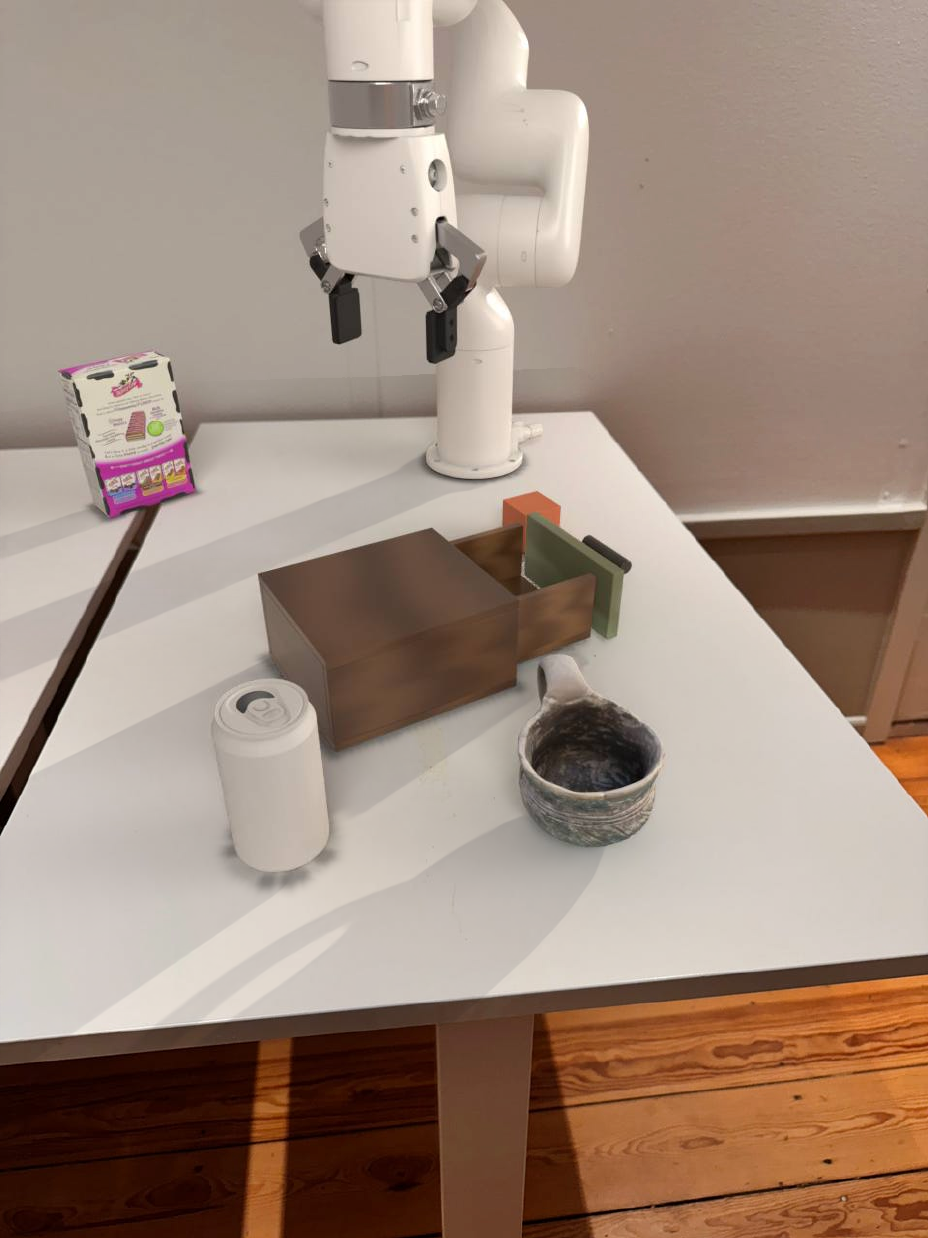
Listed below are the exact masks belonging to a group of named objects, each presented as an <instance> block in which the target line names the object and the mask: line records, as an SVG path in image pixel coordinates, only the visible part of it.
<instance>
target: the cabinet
mask: <svg viewBox="0 0 928 1238" xmlns="http://www.w3.org/2000/svg"><path fill="white" fill-rule="evenodd" d="M449 541H450V540H447V539H446V538H445V537H444V536H443V535H441V533H439V532H438V531H437V530H436V529H434V528H433V527H428V528H425V529H421V530H417V531H413V532H409V533H406V534H402V535H398V536H394V537H391V538H387V539H383V540H379V541H376V542H372V543H367V544H365V545H360V546H356V547H353V548H349V549H346V550H341V551H338V552H337V551H336V552H334V553H330V554H326V555H323V556H318V557H314V558H312V559H307V560H304V561H300V562H296V563H293V564H292V563H291V564H288V565H285V566H284V565H283V566H281V567H277V568H273V569H269V570H265V571H261V572H258V573H257V579H258V584H259V586H258V587H259V592H260V597H261V605H262V606H261V607H262V611H263V619H264V625H265V633H266V639H267V643H268V644H267V646H268V652H269V657H270V659H271V661H272V662H273V664H274V665H275V666H276V668H277V669H278V671H279V672H280V674H281V676H282V677H283V678H284V680H286V681H290V682H292V683H295V684H296V685H298V686H300V687H301V688H302V689H303V690H304V691H305V692H306V694H307V696H308V701H309V702H310V703H311V704H312V706H313V707H314V709H315V711H316V716H317V725H318V730H320V732H321V733H322V734H323V736H324V737H325V739H326V740H327V742H328V743H329V745H330V746H331V748H332V750H333V751H334V752H335V753H337V752H339V751H342V750H346V749H348V748H351V747H353V746H356V745H358V744H359V745H360V744H362V743H364V742H367V741H369V740H373V739H375V738H377V737H381V736H383V735H387V734H389V733H392V732H394V731H397V730H400V729H402V728H406V727H408V726H410V725H413V724H416V723H419V722H421V721H424V720H427V719H429V718H433V717H435V716H438V715H441V714H443V713H446V712H448V711H451V710H454V709H457V708H459V707H463V706H465V705H467V704H470V703H473V702H476V701H478V700H481V699H484V698H486V697H490V696H492V695H494V694H497V693H500V692H503V691H505V690H508V689H512V688H514V687H516V686H517V674H518V672H517V671H518V663H517V649H518V624H519V603H520V600H519V599H518V598H517V597H515V596H514V595H513V594H512V593H511V592H509V591H508V590H507V589H506V588H505V587H503V586H502V585H501V584H500V583H499V582H497V581H496V580H495V579H494V578H492V577H491V576H490V575H489V574H488V573H486V572H485V571H484V570H483V569H482V568H480V567H479V566H478V565H477V564H476V563H474V562H473V561H472V560H471V559H469V558H468V557H467V556H466V555H465V554H463V553H462V552H461V551H460V550H459V549H457V548H456V547H455V546H454V545H453V544H451V543H450V542H449Z"/></svg>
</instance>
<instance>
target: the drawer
mask: <svg viewBox="0 0 928 1238" xmlns="http://www.w3.org/2000/svg"><path fill="white" fill-rule="evenodd" d="M448 541H449V542H450V543H451V544H453V545H454V546H455V547H456V548H457V549H459V550H460V551H461V552H462V553H463V554H465V555H466V556H467V557H468V558H469V559H471V560H472V561H473V562H474V563H476V564H477V565H478V566H479V567H480V568H482V569H483V570H484V571H485V572H486V573H488V574H489V575H490V576H491V577H492V578H494V579H495V580H496V581H497V582H499V583H500V584H501V585H502V586H503V587H505V588H506V589H507V590H508V591H509V592H511V593H512V594H513V595H514V596H515V597H517V598H518V599H519V600H520V603H519V624H518V649H517V664H519V663H522V662H525V661H528V660H530V659H531V660H532V659H533V658H537V657H539V656H543V655H545V654H547V653H551V652H553V651H555V650H558V649H561V648H564V647H567V646H570V645H573V644H575V643H578V642H581V641H585V640H587V639H589V638H591V634H592V633H591V632H592V629H593V630H594V631H595V632H596V633H598V634H599V635H600V636H601V637H603V638H604V639H605V640H609V639H612V638H615V637H617V636H618V630H619V621H620V613H621V602H622V596H623V586H624V577H625V575H626V574H628V573H629V572H630V571H631V570H632V567H633V563H632V562H631V560H629V559H628V558H626V557H625V556H623V555H621V554H620V553H619V552H617V551H616V550H614V549H613V548H611V547H609V546H608V545H607V544H605V543H603V542H602V541H601V540H598V539H597V538H596V537H595V536H593V535H591V534H587V535H586V536H585V535H584V537H583V538H582V540H580V539H578V538H576V537H575V536H573V535H572V534H571V533H569V532H567V531H566V530H564V529H563V528H561V527H559V526H557V525H556V524H554V523H553V522H551V521H550V520H548V519H547V518H545V517H544V516H542V515H541V514H539V513H538V512H533V513H530V514H527V521H526V545H525V553H524V569H523V552H522V546H523V525H522V524H521V523H519V522H518V523H514V524H510V525H507V526H503V527H502V526H500V527H496V528H493V529H489V530H485V531H482V532H478V533H473V534H470V535H467V536H463V537H459V538H455V539H452V540H448ZM522 569H523V575H524V576H523V575H522ZM525 577H526V578H525ZM528 579H529V580H528ZM530 581H531V582H530ZM532 583H534V584H535V585H536V586H535V585H534V584H532ZM537 586H538V587H539V588H538V587H537Z"/></svg>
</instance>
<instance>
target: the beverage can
mask: <svg viewBox="0 0 928 1238" xmlns="http://www.w3.org/2000/svg"><path fill="white" fill-rule="evenodd" d="M213 716H214V718H213V720H212V722H211V726H210V734H211V740H212V745H213V750H214V755H215V759H216V764H217V768H218V774H219V780H220V784H221V788H222V794H223V798H224V803H225V808H226V813H227V818H228V822H229V827H230V833H231V837H232V838H231V839H232V843H233V848H234V851H235V853H236V854H237V857H238V858H239V859H240V861H242V862H243V863H244V864H245V865H247V866H248V867H250V868H252V869H255V870H257V871H260V872H266V873H282V872H288V871H291V870H295V869H298V868H300V867H303V866H305V865H306V864H309V862H312V861H313V860H314V859H315V858H316V857H317V856H318V855H319V854H320V853H321V852H322V851H323V850H324V848H325V847H326V845H327V842H328V840H329V837H330V821H329V813H328V805H327V797H326V796H327V794H326V786H325V778H324V769H323V761H322V760H323V759H322V751H321V742H320V734H319V727H318V725H317V716H316V711H315V709H314V707H313V706H312V704H311V703H310V702H309V701H308V696H307V694H306V692H305V691H304V690H303V689H302V688H301V687H300V686H298V685H296V684H295V683H292V682H290V681H286V679H282V678H259V679H254V680H249V681H246V682H243V683H241V684H238V685H236V686H234V687H232V688H231V689H229V690H228V691H226V692H225V693H224V694H223V695H222V696H221V697H220V698H219V699H218V701H217V702H216V705H215V707H214V711H213Z"/></svg>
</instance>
